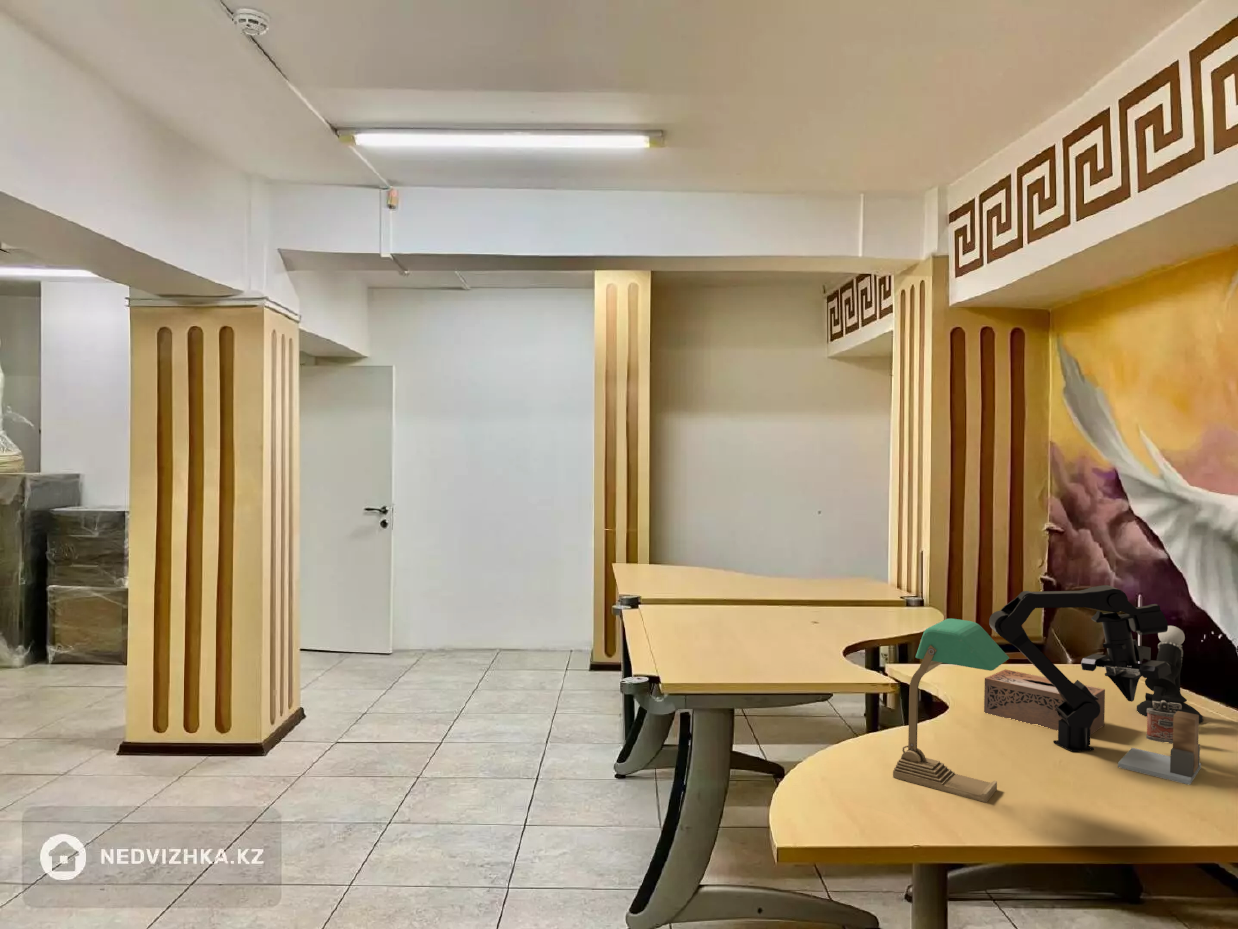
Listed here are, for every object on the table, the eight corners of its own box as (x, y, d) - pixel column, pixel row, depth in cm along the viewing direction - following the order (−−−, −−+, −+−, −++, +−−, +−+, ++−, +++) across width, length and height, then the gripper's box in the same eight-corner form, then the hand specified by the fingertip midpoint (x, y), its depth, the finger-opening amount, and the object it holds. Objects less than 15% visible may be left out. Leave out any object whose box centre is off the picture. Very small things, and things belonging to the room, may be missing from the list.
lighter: (1146, 740, 202) (1147, 700, 201) (1145, 735, 205) (1146, 697, 204) (1185, 745, 198) (1186, 705, 198) (1183, 741, 201) (1184, 702, 201)
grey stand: (1117, 767, 183) (1118, 741, 183) (1131, 751, 193) (1132, 727, 193) (1189, 785, 173) (1190, 757, 173) (1200, 767, 183) (1201, 742, 183)
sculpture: (1207, 716, 221) (1209, 627, 221) (1190, 736, 205) (1192, 640, 205) (1143, 703, 232) (1145, 618, 232) (1122, 721, 216) (1124, 630, 215)
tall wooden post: (1172, 768, 179) (1173, 715, 179) (1176, 762, 183) (1177, 710, 183) (1193, 773, 177) (1195, 720, 176) (1197, 767, 180) (1198, 715, 180)
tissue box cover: (984, 713, 221) (984, 678, 221) (1004, 703, 231) (1005, 669, 231) (1086, 738, 203) (1087, 699, 202) (1104, 726, 212) (1104, 689, 212)
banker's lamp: (911, 761, 185) (914, 612, 184) (1008, 786, 171) (1011, 625, 171) (886, 782, 172) (889, 622, 172) (988, 810, 159) (992, 637, 159)
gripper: (1177, 632, 189) (1190, 697, 188) (1100, 627, 205) (1112, 686, 205) (1150, 644, 184) (1164, 711, 183) (1074, 637, 200) (1086, 698, 200)
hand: (1131, 701), depth 193 cm, fingers closed
